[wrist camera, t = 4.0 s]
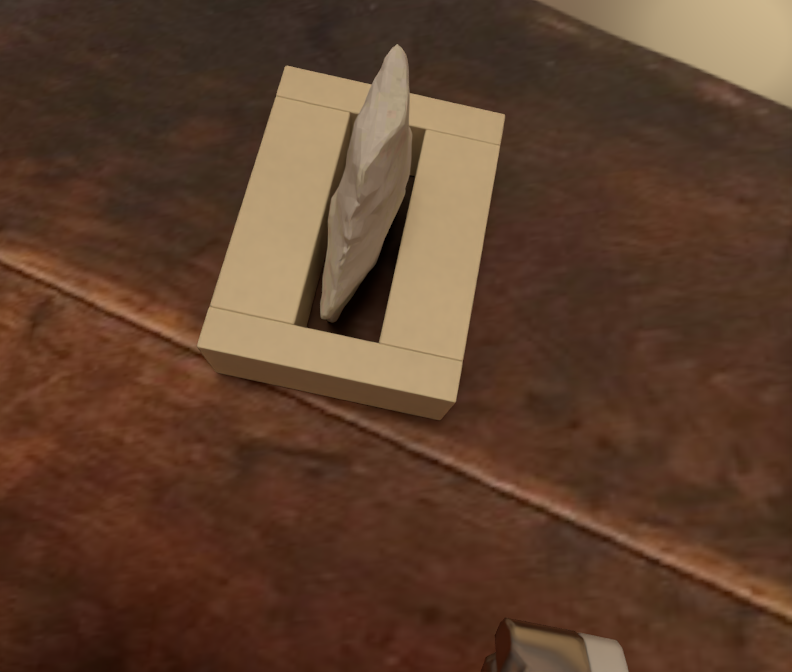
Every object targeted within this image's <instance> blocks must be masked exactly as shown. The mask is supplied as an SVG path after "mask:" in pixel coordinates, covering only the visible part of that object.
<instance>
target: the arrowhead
mask: <svg viewBox="0 0 792 672" xmlns="http://www.w3.org/2000/svg"><path fill="white" fill-rule="evenodd" d="M409 105H410V96H409V69H408V61H407V56H406V54H405V52H404V51H403V49H402V48H401V47H400V46H399V45H398V44H397V45H396V46H394V47H393V48H392V49H391V50H390V52H389V53H388V54H387V56H386V57H385V59H384V62H383V64H382V67H381V69H380V71H379V73H378V74H377V76H376V77H375V79H374V81H373V83H372V85H371V87H370V89H369V92H368V94H367V97H366V100H365V103H364V105H363V107H362V109H361V111H360V113H359V114H358V116H357V118H356V120H355V122H354V127H353V132H352V136H351V140H350V144H349V148H348V152H347V160H346V167H345V171H344V174H343V177H342V180H341V182H340V185H339V187H338V189H337V191H336V192H335V194H334V195H333V197H332V198H331V204H330V210H329V216H328V248H327V254H326V261H325V265H324V272H323V278H322V297H321V301H320V315H321V319H324V320H326V319H327V321H329V322H332V323H333V322H336V321H337V319H338V318H339V316H340V314H341V312H342V310H343V308H344V307H345V306H346V304H347V303H348V302H349V300H350V299H351V298H352V297H353V295H354V293H355V292H356V290H357V289H358V287H359V285H360V284H361V282H362V281H363V280H364V278H365V276H366V275H367V273H368V272H369V271H370V270H371V269H372V268H373V267H374V266H375V264H376V263H377V260H378V257H379V255H380V252H381V249H382V245H383V242H384V239H385V237H386V235H387V233H388V231H389V228H390V226H391V224H392V222H393V220H394V218H395V216H396V214H397V212H398V209H399V207H400V205H401V203H402V200H403V198H404V196H405V192H406V191H405V187H406V184H407V182H408V178H409V174H410V166H411V150H412V146H411V144H412V132H411V129H410V128H409Z"/></svg>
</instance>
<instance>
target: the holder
mask: <svg viewBox="0 0 792 672" xmlns="http://www.w3.org/2000/svg"><path fill="white" fill-rule="evenodd" d="M370 87H371V84H366V83H362V82H357V81H353V80H348V79H344V78H339V77H335V76H330V75H326V74H321V73H317V72H312V71H308V70H303V69H299V68H295V67H290V66H285V69H284V72H283V75H282V78H281V81H280V84H279V88H278V91H277V94H276V98H275V101H274V104H273V107H272V110H271V113H270V117H269V120H268V123H267V126H266V129H265V132H264V136H263V139H262V142H261V145H260V148H259V151H258V155H257V158H256V161H255V164H254V167H253V170H252V174H251V177H250V180H249V183H248V186H247V189H246V193H245V196H244V199H243V202H242V205H241V208H240V212H239V215H238V218H237V221H236V224H235V227H234V231H233V234H232V237H231V240H230V243H229V247H228V250H227V253H226V256H225V259H224V262H223V266H222V269H221V272H220V275H219V278H218V281H217V285H216V288H215V291H214V294H213V297H212V300H211V304H210V307H209V309H208V312H207V315H206V318H205V321H204V325H203V328H202V331H201V334H200V337H199V340H198V344H197V348H198V349H199V350H200V352H201V353H202V354H203V356H204V357H205V358H206V360H207V361H208V362H209V364H210V365H211V366H212V368H213V369H214V370H215V372H216V373H221V374H226V375H230V376H235V377H240V378H244V379H249V380H254V381H258V382H263V383H268V384H272V385H277V386H282V387H286V388H291V389H295V390H300V391H305V392H309V393H314V394H319V395H323V396H328V397H333V398H337V399H342V400H347V401H351V402H356V403H361V404H365V405H370V406H375V407H379V408H384V409H389V410H393V411H398V412H402V413H407V414H412V415H416V416H421V417H426V418H430V419H435V420H441V419H442V418H443V417H444V416H445V414H446V413H447V412H448V411H449V410H450V408H451V407H452V406H453V405H454V404H455V402H456V398H457V393H458V387H459V381H460V375H461V370H462V364H463V362H462V361H463V358H464V352H465V346H466V340H467V335H468V329H469V323H470V317H471V311H472V306H473V300H474V294H475V288H476V283H477V277H478V271H479V265H480V259H481V254H482V248H483V242H484V236H485V231H486V225H487V219H488V213H489V207H490V202H491V196H492V190H493V184H494V179H495V173H496V167H497V161H498V155H499V150H500V144H501V138H502V132H503V126H504V121H505V115H504V114H500V113H496V112H491V111H487V110H482V109H478V108H473V107H469V106H464V105H460V104H455V103H451V102H447V101H442V100H438V99H433V98H429V97H424V96H420V95H415V94H411V93H409V96H410V105H409V128H410V129H411V132H412V144H411V146H412V150H411V166H410V174H409V175H412V176H415V180H414V185H413V189H412V194H411V199H410V203H409V208H408V212H407V217H406V221H405V226H404V230H403V235H402V240H401V244H400V249H399V253H398V258H397V262H396V267H395V271H394V276H393V281H392V285H391V290H390V294H389V299H388V303H387V308H386V312H385V317H384V322H383V326H382V331H381V335H380V340H379V343H375V342H370V341H365V340H361V339H356V338H352V337H347V336H342V335H338V334H333V333H329V332H324V331H319V330H315V329H310V328H306V327H307V323H308V320H309V316H310V312H311V308H312V304H313V300H314V297H315V293H316V289H317V285H318V281H319V277H320V273H321V270H322V266H323V262H324V258H325V254H326V250H327V247H328V216H329V210H330V204H331V198H332V197H333V195H334V194H335V192H336V191H337V189H338V187H339V185H340V182H341V180H342V177H343V174H344V171H345V167H346V160H347V152H348V148H349V144H350V140H351V136H352V132H353V127H354V122H355V120H356V118H357V116H358V114H359V113H360V111H361V109H362V107H363V105H364V103H365V100H366V97H367V94H368V92H369V89H370Z"/></svg>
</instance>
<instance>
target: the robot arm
mask: <svg viewBox="0 0 792 672" xmlns="http://www.w3.org/2000/svg"><path fill="white" fill-rule="evenodd" d="M495 649H496V652H495V653H493V654H491V655H489V656H487V657H486V658H485V661H484V664H483V667H482V669H481V672H629V671H628V667H627V663H626V660H625V656H624V653H623V649H622V647H621V646H620V645H619V643H618V642H617V640H612V639H607V638H602V637H598V636H593V635H588V634H583V633H577V632H575V631H571V630H566V629H561V628H556V627H551V626H546V625H541V624H536V623H531V622H526V621H521V620H516V619H511V618H506V617H505V618H504V619H503V620H502V621H501V622H500V624H499V627H498V629H497V631H496V634H495Z"/></svg>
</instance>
